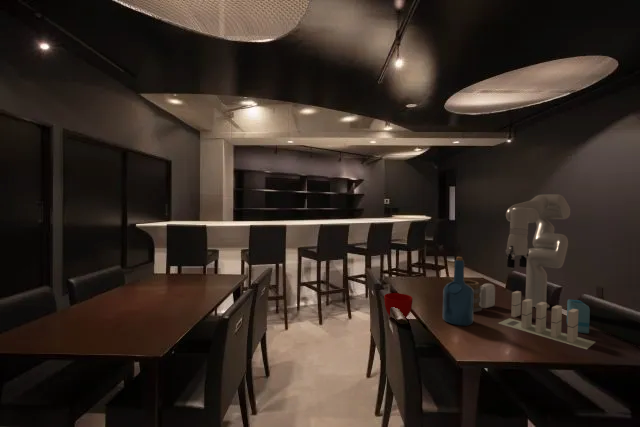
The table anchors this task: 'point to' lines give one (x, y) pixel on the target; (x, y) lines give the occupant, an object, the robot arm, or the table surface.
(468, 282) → the tankard
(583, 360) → the table surface
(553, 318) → the domino
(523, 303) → the domino
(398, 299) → the ceramic cup
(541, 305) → the domino
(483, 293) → the photo printer
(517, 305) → the domino
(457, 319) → the wine bottle
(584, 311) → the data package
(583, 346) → the domino mat
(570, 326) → the domino
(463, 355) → the table surface
